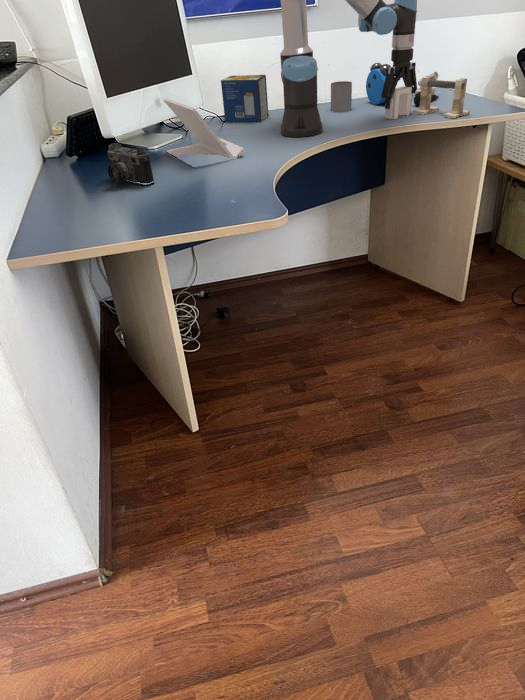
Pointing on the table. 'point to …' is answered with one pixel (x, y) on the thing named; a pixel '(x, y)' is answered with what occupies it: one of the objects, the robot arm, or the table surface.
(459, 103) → the hook stand
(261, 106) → the protein box
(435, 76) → the wall hook
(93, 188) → the table surface
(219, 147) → the tablet stand
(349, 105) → the cup
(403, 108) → the notched white block
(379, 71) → the alarm clock
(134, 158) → the camera
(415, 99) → the microphone
